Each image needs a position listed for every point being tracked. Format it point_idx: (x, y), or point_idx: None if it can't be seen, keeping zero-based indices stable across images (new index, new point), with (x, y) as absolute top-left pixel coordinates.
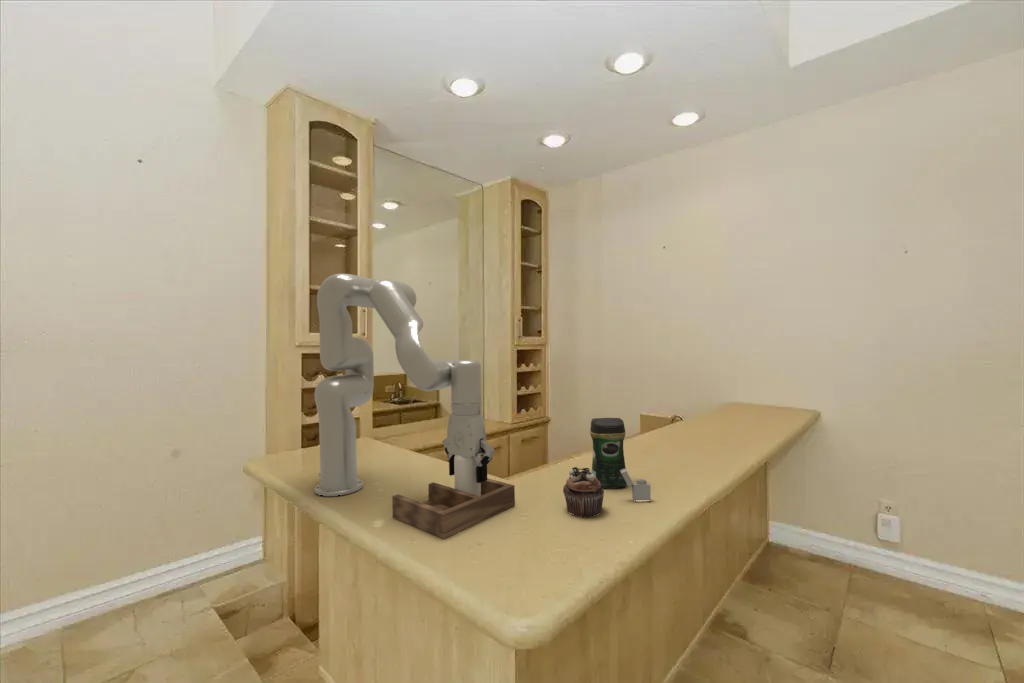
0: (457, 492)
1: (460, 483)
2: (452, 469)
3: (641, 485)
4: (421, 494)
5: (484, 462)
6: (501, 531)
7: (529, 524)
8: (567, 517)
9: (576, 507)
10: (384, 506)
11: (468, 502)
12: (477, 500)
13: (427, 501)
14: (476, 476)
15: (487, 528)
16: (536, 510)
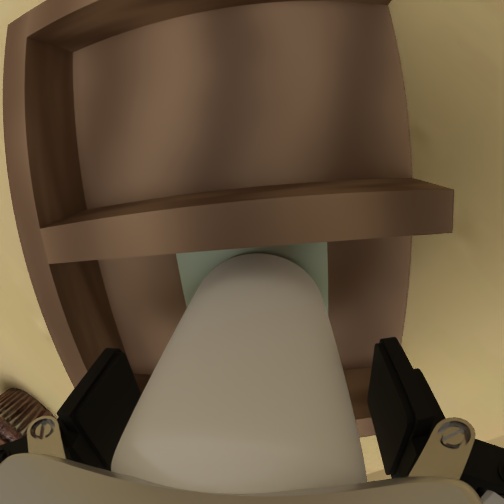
0: (161, 216)
1: (219, 299)
2: (384, 375)
3: None
4: (499, 230)
5: (22, 442)
6: (5, 216)
7: (9, 300)
8: (16, 376)
9: (4, 398)
10: (495, 52)
11: (19, 172)
12: (17, 220)
13: (399, 159)
14: (105, 371)
15: None
16: (69, 380)
